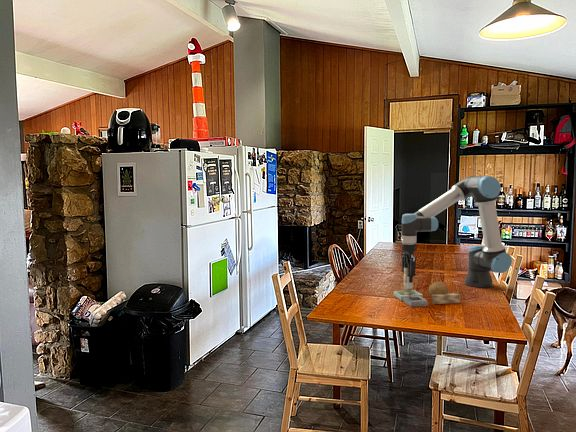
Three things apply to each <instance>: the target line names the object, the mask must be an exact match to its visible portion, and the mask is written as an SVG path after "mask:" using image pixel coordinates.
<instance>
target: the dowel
mask: <svg viewBox="0 0 576 432" xmlns="http://www.w3.org/2000/svg"><path fill="white" fill-rule="evenodd" d="M407 275H408V268H404V274H403V291H404V295H412V290H413V288H411V289H408V288H407Z"/></svg>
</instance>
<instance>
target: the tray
mask: <svg viewBox="0 0 576 432" xmlns="http://www.w3.org/2000/svg"><path fill="white" fill-rule="evenodd" d="M410 296H421V297H422V298H424V294H422V293H421V292H419V291H417V290H416V289H412V295H404V290H393V297H395V298H396V299H398V300H399V301H401V302H403V297H410Z"/></svg>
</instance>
